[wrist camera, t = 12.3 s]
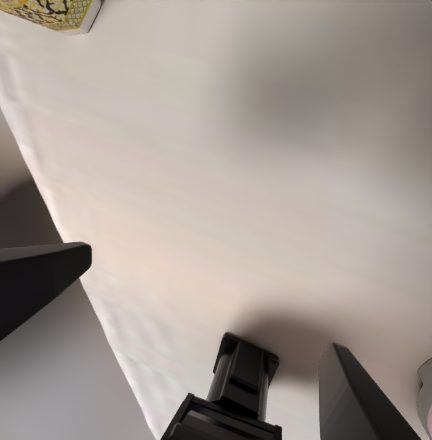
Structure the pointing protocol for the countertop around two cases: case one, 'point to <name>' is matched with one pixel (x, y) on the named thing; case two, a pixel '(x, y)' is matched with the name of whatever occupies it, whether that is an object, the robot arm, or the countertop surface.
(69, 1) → the ceramic cup
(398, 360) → the countertop surface
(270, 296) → the countertop surface
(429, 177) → the countertop surface
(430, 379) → the blender
